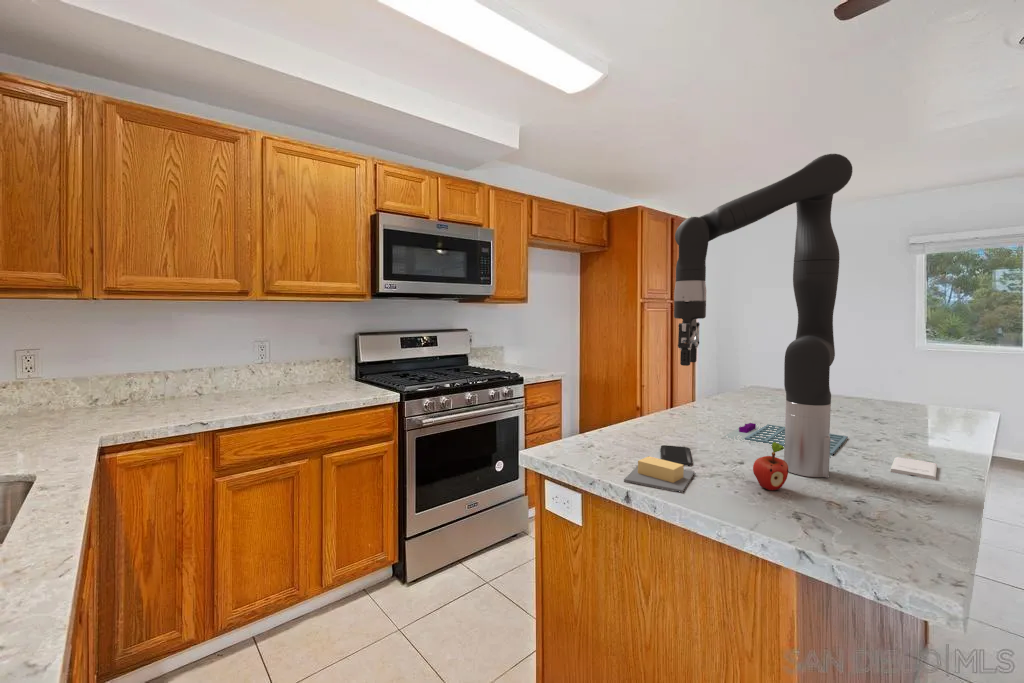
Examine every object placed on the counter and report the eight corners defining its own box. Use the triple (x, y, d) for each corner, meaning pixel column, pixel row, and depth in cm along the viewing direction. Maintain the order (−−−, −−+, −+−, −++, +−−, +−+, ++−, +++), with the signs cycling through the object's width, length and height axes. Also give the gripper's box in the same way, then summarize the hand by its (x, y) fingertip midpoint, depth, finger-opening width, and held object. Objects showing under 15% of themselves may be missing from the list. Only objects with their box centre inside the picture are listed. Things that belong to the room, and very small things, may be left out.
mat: (694, 473, 112) (694, 471, 112) (682, 493, 100) (682, 490, 100) (640, 464, 119) (641, 462, 119) (623, 481, 107) (623, 479, 107)
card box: (648, 468, 114) (648, 456, 114) (683, 477, 108) (683, 464, 108) (637, 473, 111) (638, 460, 111) (673, 482, 105) (673, 469, 104)
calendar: (829, 461, 124) (830, 452, 124) (720, 440, 144) (720, 432, 144) (847, 441, 143) (848, 433, 143) (749, 425, 163) (749, 418, 163)
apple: (788, 497, 98) (789, 450, 97) (751, 491, 101) (753, 446, 101) (787, 485, 105) (788, 441, 104) (753, 480, 108) (754, 437, 107)
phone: (689, 447, 132) (692, 463, 118) (689, 451, 132) (692, 467, 118) (660, 444, 134) (659, 460, 120) (660, 448, 134) (659, 464, 120)
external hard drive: (936, 469, 117) (935, 482, 108) (894, 462, 122) (890, 474, 113) (937, 463, 117) (935, 475, 108) (895, 456, 122) (890, 467, 113)
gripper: (680, 300, 124) (679, 360, 125) (668, 299, 112) (666, 365, 113) (710, 300, 120) (708, 362, 121) (701, 298, 108) (699, 367, 109)
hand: (688, 363), depth 117 cm, fingers open, 8 cm apart
